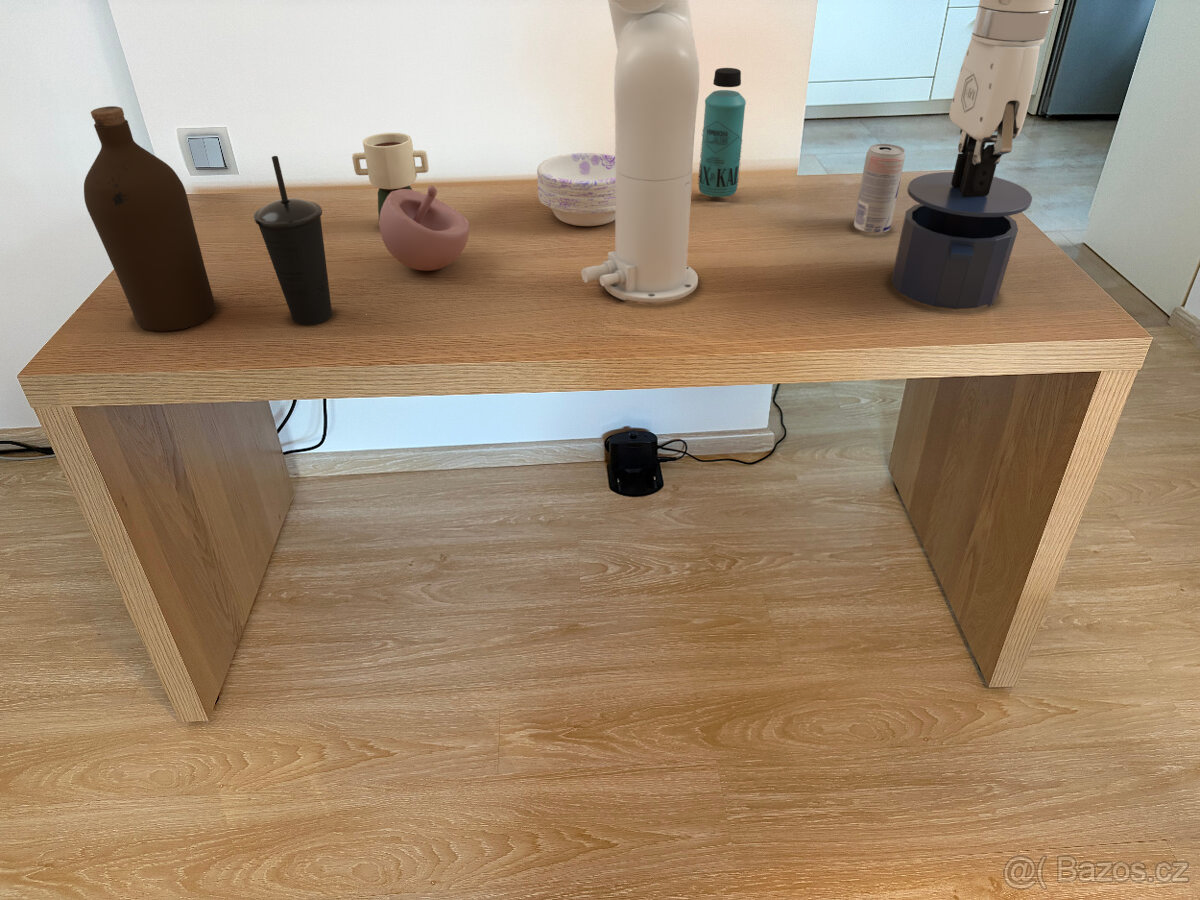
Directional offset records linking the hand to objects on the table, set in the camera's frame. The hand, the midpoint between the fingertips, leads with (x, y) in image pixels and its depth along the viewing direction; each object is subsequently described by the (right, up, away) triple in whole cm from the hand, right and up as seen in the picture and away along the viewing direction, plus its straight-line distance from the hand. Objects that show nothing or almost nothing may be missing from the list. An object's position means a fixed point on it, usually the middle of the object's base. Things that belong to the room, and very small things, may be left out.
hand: (969, 189), depth 103 cm
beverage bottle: (-26, +9, +35) cm, 45 cm away
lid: (0, -1, 0) cm, 1 cm away
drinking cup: (-82, -15, +3) cm, 83 cm away
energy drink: (-4, +1, +25) cm, 25 cm away
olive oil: (-99, -15, +4) cm, 100 cm away
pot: (0, -11, +8) cm, 13 cm away
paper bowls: (-47, +5, +30) cm, 56 cm away
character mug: (-76, +3, +28) cm, 81 cm away
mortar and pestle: (-69, -6, +15) cm, 71 cm away
